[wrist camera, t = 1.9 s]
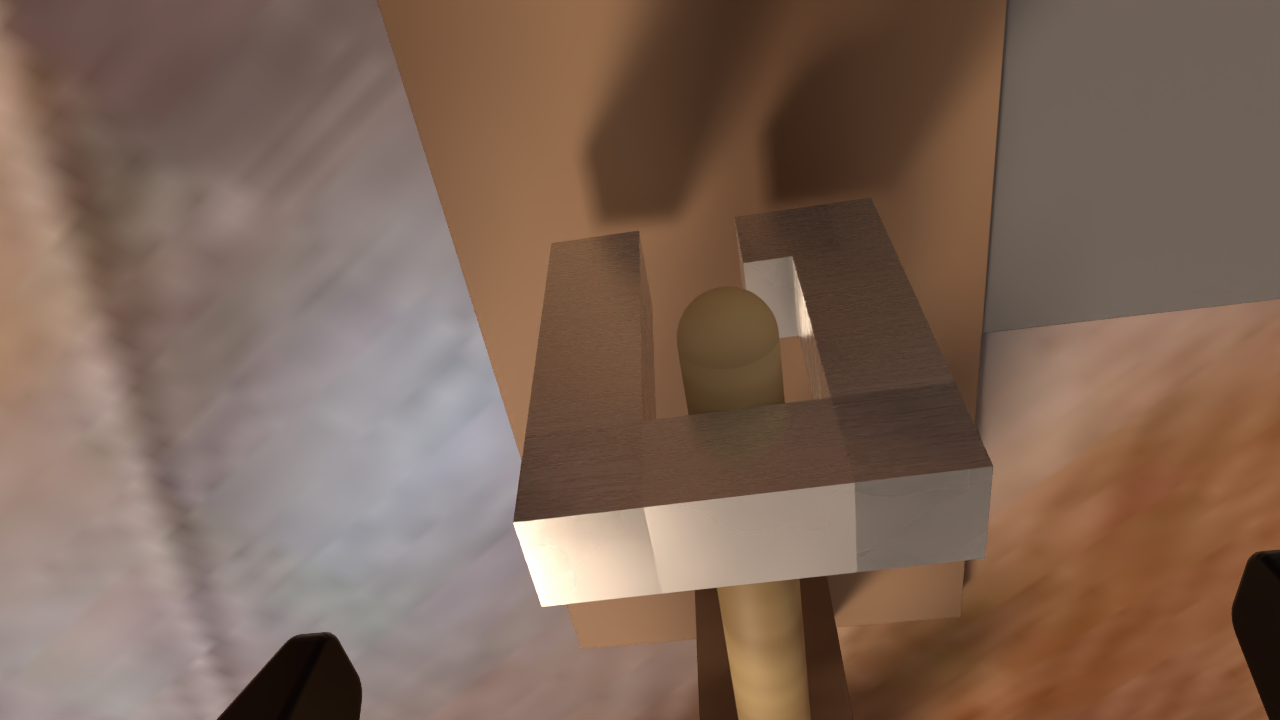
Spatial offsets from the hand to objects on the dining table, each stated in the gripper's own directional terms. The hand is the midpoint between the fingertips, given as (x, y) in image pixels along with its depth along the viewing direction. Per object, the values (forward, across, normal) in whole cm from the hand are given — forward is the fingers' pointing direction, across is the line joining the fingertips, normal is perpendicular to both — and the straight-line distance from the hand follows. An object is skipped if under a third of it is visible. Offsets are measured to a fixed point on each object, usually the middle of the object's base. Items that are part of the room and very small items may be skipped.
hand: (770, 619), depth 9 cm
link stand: (+9, 0, +4) cm, 9 cm away
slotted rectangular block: (+7, 0, 0) cm, 7 cm away
